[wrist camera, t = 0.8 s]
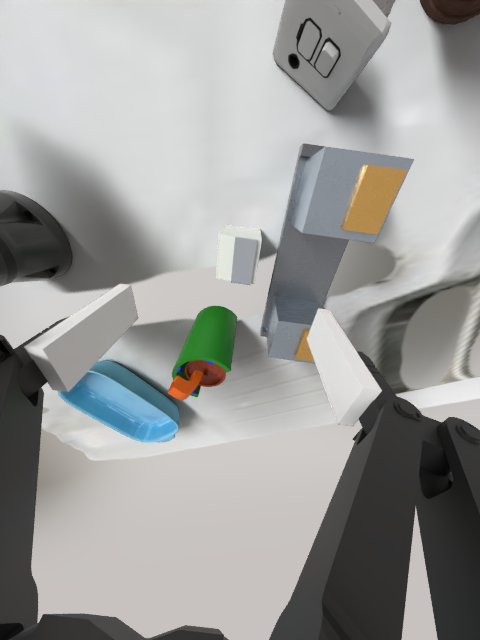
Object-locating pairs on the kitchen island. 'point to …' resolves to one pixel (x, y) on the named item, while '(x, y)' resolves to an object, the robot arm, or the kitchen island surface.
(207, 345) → the motor
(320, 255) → the rail
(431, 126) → the kitchen island surface
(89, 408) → the casserole dish
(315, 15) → the electrical switch
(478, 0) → the black ball on stand
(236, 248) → the block
